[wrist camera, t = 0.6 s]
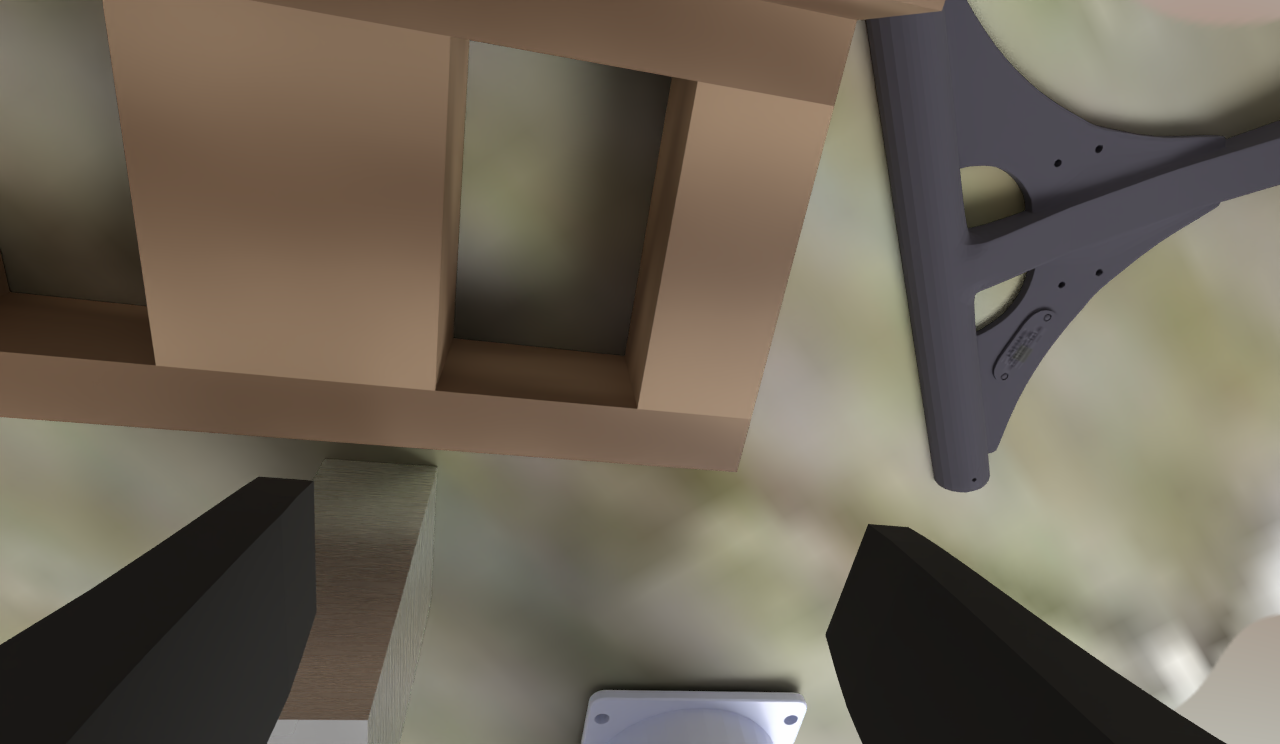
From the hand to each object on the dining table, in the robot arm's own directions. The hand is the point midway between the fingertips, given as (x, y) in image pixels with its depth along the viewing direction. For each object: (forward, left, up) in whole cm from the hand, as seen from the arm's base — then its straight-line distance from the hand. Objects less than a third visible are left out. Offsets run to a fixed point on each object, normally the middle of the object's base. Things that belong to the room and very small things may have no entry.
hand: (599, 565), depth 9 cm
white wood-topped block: (-8, +5, -10) cm, 13 cm away
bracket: (+5, -15, -11) cm, 19 cm away
